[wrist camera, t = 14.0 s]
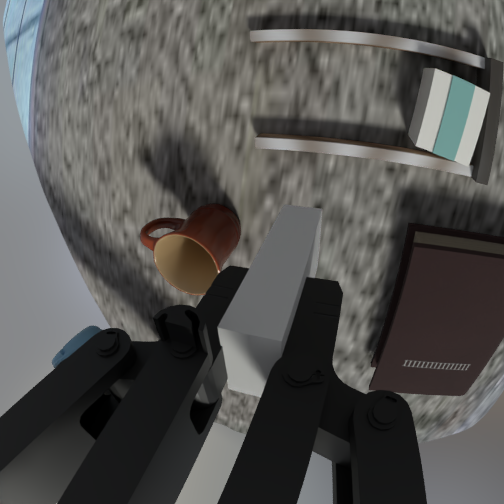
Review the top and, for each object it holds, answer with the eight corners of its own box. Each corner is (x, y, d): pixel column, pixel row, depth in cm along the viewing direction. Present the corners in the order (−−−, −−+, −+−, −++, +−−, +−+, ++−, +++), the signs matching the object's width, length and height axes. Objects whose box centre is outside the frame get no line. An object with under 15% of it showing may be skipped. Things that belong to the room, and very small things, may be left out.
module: (407, 134, 30) (415, 146, 25) (423, 67, 25) (435, 68, 20) (454, 152, 29) (469, 167, 24) (472, 88, 24) (491, 93, 19)
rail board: (261, 143, 36) (250, 152, 33) (256, 32, 28) (244, 29, 25) (476, 172, 28) (487, 185, 25) (488, 61, 21) (503, 62, 18)
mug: (256, 211, 41) (227, 254, 33) (239, 259, 46) (211, 306, 38) (177, 177, 42) (133, 210, 34) (168, 227, 47) (130, 265, 39)
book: (466, 370, 45) (469, 395, 40) (371, 362, 51) (368, 389, 46) (530, 240, 30) (546, 265, 25) (408, 221, 35) (414, 246, 31)
